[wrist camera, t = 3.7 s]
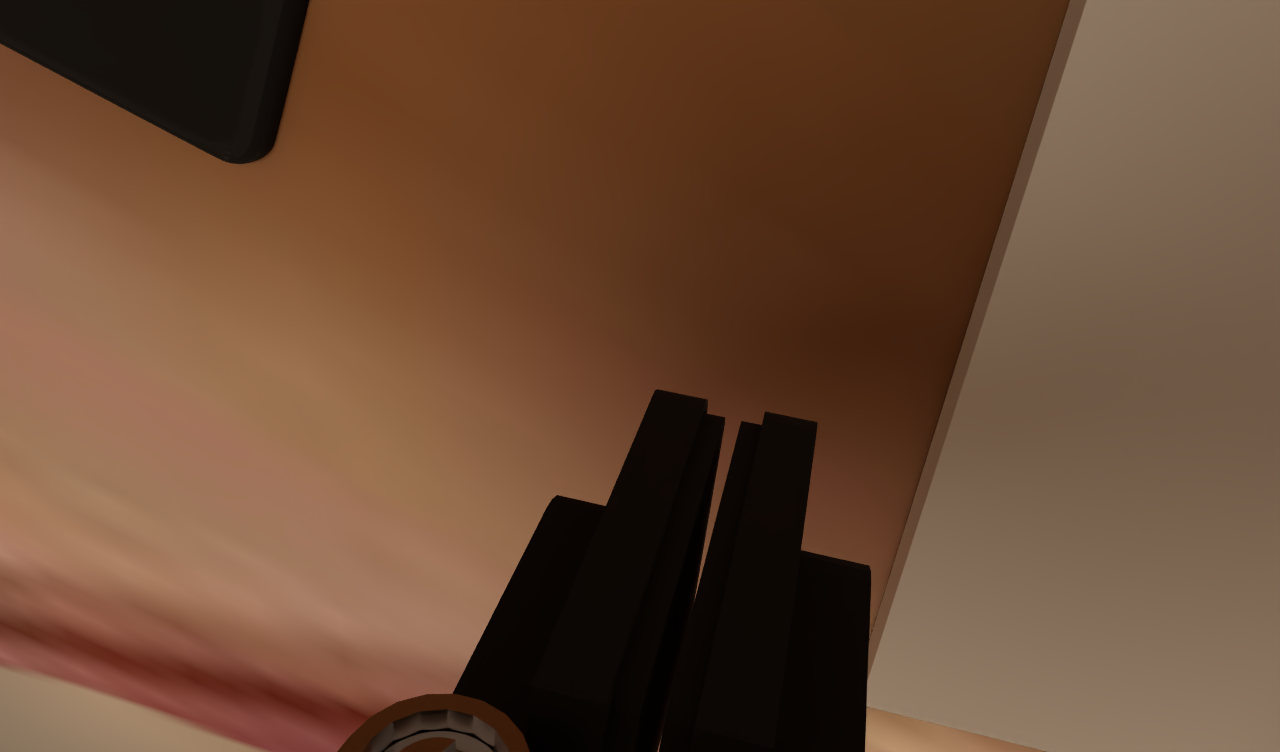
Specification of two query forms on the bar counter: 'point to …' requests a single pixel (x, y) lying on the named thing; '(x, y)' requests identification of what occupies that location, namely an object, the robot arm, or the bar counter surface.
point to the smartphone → (172, 61)
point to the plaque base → (1114, 413)
